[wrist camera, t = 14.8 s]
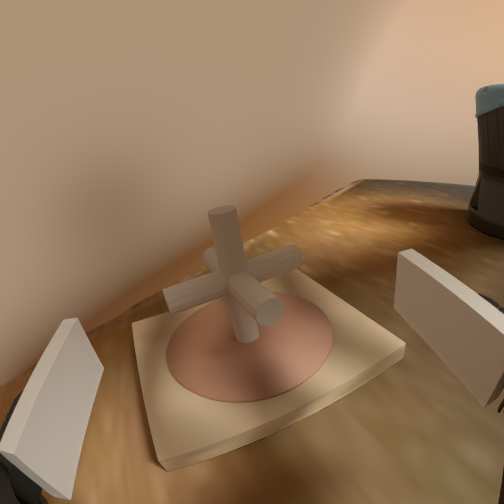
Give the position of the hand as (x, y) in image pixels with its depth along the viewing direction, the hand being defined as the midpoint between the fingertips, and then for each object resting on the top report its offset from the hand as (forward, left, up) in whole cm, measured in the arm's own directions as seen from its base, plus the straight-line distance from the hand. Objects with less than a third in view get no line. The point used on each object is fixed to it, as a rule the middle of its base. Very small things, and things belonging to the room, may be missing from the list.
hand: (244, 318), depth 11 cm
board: (-3, -9, -10) cm, 14 cm away
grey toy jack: (-3, -9, -8) cm, 12 cm away
